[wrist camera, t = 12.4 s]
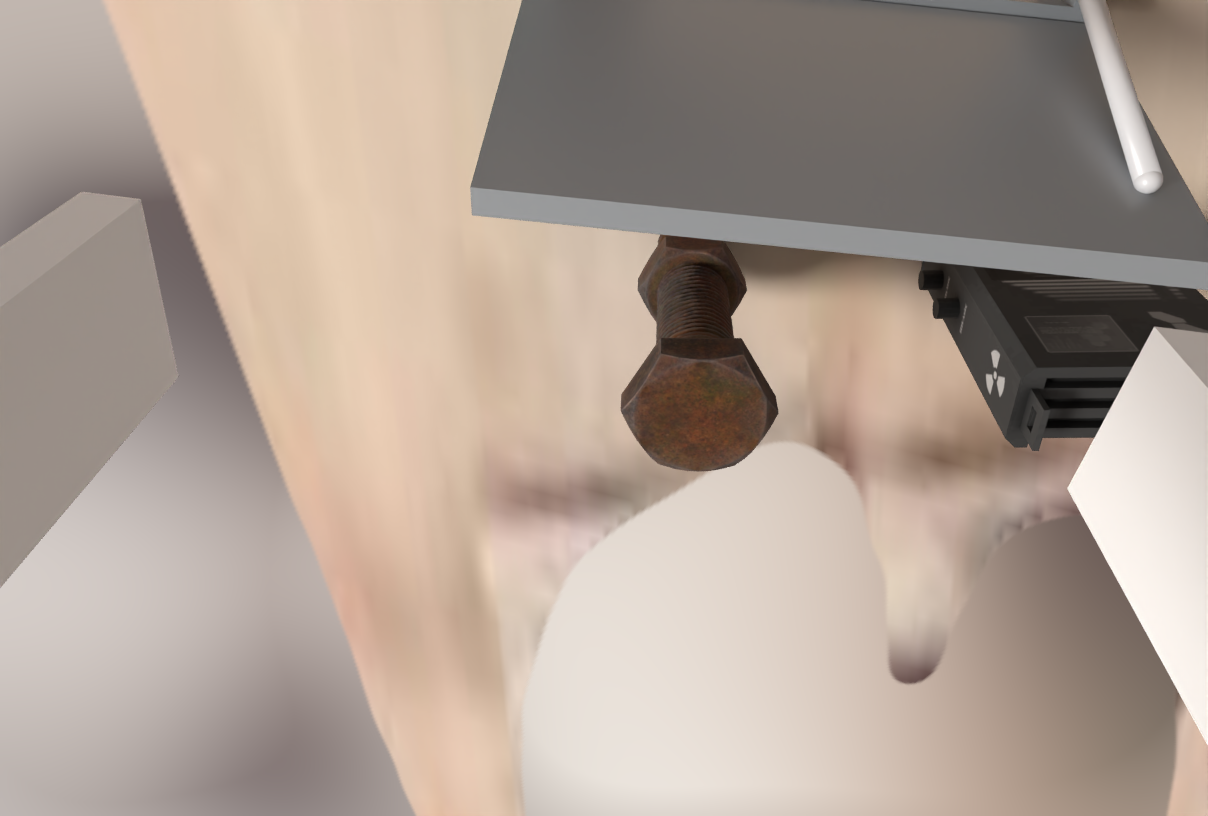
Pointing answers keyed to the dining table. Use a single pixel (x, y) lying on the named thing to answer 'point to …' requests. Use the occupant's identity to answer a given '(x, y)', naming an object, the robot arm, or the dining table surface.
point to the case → (844, 132)
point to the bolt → (696, 362)
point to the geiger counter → (1052, 341)
